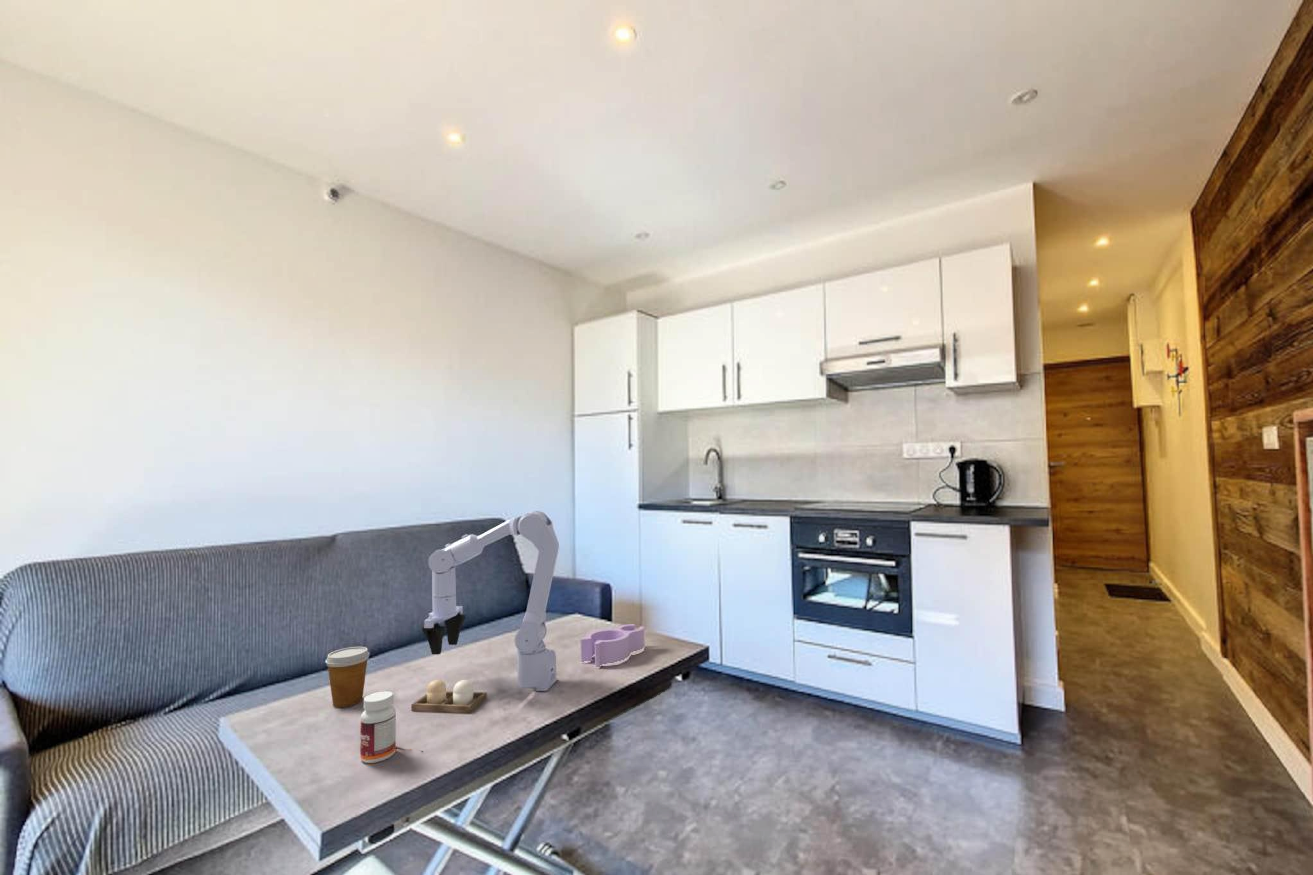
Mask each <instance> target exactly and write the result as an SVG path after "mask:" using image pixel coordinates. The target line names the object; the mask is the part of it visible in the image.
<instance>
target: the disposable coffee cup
mask: <svg viewBox="0 0 1313 875" xmlns="http://www.w3.org/2000/svg"><path fill="white" fill-rule="evenodd" d="M370 654H371V653H370V652H369V649H368V648H367V646H350V647H344V648H340V649H337V650H334V651H332V652H330V653H328V654H327V658H326V659H325V664H326V666H327V670H328V678H329V685H330V692H331V701H332V705H333V707H334V708H347V707H351V706H354V705H357V704H359V703H360V702H362V701H363V700H364V698H363V697H364V689H365V682H366V675H367V674H366V673H367V667H368V666H367V665H368V659H369V656H370Z"/></svg>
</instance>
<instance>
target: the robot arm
mask: <svg viewBox="0 0 1313 875" xmlns="http://www.w3.org/2000/svg"><path fill="white" fill-rule="evenodd" d="M510 535H512V536H519V535H521V536H522V537H523V538H525V539H526V540H528V541H529V542H531V543H532V544H533V546H534V547H535V548H536V549H537V550H538V555H537V559H536V563H535V569H534V572H533V577H532V583H531V587H530V592H529V598H528V600H527V607H526V611H525V613H524V615H523V616H524V617H523V620H522V621H521V626H520V628H519V630H518V631H517V633H516V634H515V636H514V645H515V648H516V659H517V660H516V662H517V663H516V664H517V665H516V666H517V670H516V671H517V685H518V686H519V687H521V688H524V689H529V688H533V692H535V691H537V692H539V691H540V692H546V691H548V690H549V689H550V688H552V686H553V685H554V683H556V682H557V681H558V680H559V678H558V677H557V655H556V652H555V650H554V649H549V648H547V647H546V643H545V642H544V639H545V637H546V635H547V631H548V630H547V626H546V620H547V619H546V618H547V614H546V611H547V604H548V601H549V596H550V592H551V587H552V582H553V577H554V573H555V568H556V563H557V558H558V555H559V554H558V553H559V550H560V549H559V548H560V543H559V540H558V537H557V535H556V532H555V530H554V525H553V520H551V519H550V518H549V516H547V514H546V513H545V512H543V511H539V510H535V511H532V512H529V513H525V514H523V515H520V516H517V517H514V518H510V519H507V520H506V521H504V522H502V523H500V524H499V525H497V526H495V527H493V528H490V529H489V530H487V531H486V532H484V533H482V534H480V535H476V534H473V533H471V534H469V535H468V534H464V535H462V536H461V539H458V540H457V541H455V542H452V543H447V544H445V545H444V546H445V547H444V548H441V549H436V550H435V551H434V552H433V553H431V555H430V556H429V558H428V568H429V569H430V570H431V574H432V575H431V577H432V579H431V583H432V584H431V588H432V589H431V591H432V592H431V595H432V596H431V598H432V605H431V607H432V612H430V613H428V618H426V619H425V620H423V621H424V624H423V626H422V627H421V631H422V633H423V634H424V635H425V638H426V639H427V641H428V642H427V643H428V646H429V649H430V651H431V655H437V656H439V655H441V653H442V648H443V638H444V634H445V631H446V636H447V643H448V646H456V645H458V642H459V637H460V633H461V630H462V626H463V624H464V622H465V620H466V615H465V614H463V613H464V608H463V606H462V605H457V584H456V583H457V580H456V578H457V577H456V567H457V566H459V565H461V564H463V563H465V562H468V561H469V560H471V559H473V558H475V557H477V556H479V555H481V554H482V553H483V550H484V548H485V546H488V545H490V544H493V543H494V542H496V541H498V540H501V539H503V538H505V537H506V536H507V537H508V536H510ZM441 623H444V626H441V625H440V624H441Z"/></svg>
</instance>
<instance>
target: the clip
mask: <svg viewBox="0 0 1313 875" xmlns="http://www.w3.org/2000/svg"><path fill="white" fill-rule="evenodd" d="M579 644H580V647H579V648H580V649H579V650H580V663H581V662H584V661H592V662H593V659H592V656H593V655H594V654H595V657H594V663H595V667H600V665H602V664H607V663H614V662H617V661H621V660H624V659H625V658H627V657H628V656H629V655H630V653H631V652H633V651H637V650H640V649H642V648H643V647H644V646H645V645H646V644H645V627H644V625H643V626H638V628H637V629H636V624H632V623H631V624H629V623H628V624H623V625H620V626H618V627H615V628H609V629H607V628H606V629H598V630H595V631H591V632H589V633H587V634H586V636H585V637H581V638H579ZM645 647H646V646H645Z"/></svg>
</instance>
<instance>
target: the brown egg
mask: <svg viewBox="0 0 1313 875" xmlns="http://www.w3.org/2000/svg"><path fill="white" fill-rule="evenodd" d="M446 691H447V686H446V682H444V680H442V679H434V680H432V681H431V682H429V684H428V685H427V687H426V694H427V704H442V703H443V702H444V701H446Z"/></svg>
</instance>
